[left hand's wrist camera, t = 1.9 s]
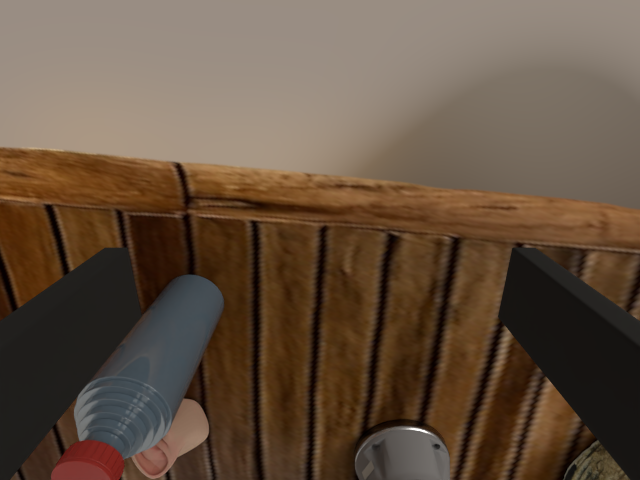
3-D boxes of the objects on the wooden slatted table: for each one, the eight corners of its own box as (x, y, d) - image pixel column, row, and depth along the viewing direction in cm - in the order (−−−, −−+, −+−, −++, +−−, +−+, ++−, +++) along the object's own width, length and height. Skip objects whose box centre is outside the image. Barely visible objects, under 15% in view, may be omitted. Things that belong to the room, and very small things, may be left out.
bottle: (207, 266, 48) (104, 423, 25) (234, 317, 51) (162, 500, 28) (151, 285, 49) (2, 452, 26) (180, 334, 52) (68, 524, 29)
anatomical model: (176, 408, 52) (220, 459, 55) (185, 387, 55) (226, 436, 59) (102, 439, 54) (149, 486, 58) (116, 417, 58) (159, 462, 61)
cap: (105, 432, 27) (91, 454, 26) (136, 472, 29) (125, 495, 27) (54, 447, 28) (37, 469, 26) (86, 485, 29) (73, 508, 28)
